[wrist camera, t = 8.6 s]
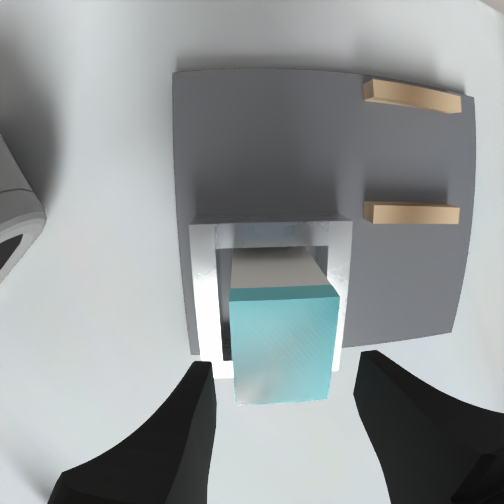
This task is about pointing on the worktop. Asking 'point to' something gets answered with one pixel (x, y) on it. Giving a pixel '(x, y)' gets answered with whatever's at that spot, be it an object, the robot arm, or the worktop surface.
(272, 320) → the plug
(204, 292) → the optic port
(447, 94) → the wooden parallel rails
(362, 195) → the panel board
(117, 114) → the worktop surface
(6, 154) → the alarm clock
